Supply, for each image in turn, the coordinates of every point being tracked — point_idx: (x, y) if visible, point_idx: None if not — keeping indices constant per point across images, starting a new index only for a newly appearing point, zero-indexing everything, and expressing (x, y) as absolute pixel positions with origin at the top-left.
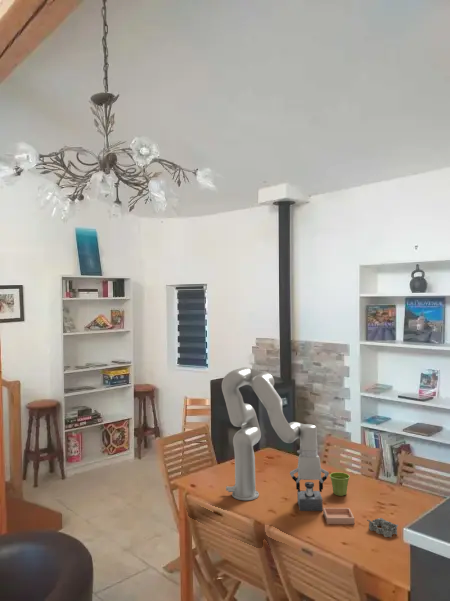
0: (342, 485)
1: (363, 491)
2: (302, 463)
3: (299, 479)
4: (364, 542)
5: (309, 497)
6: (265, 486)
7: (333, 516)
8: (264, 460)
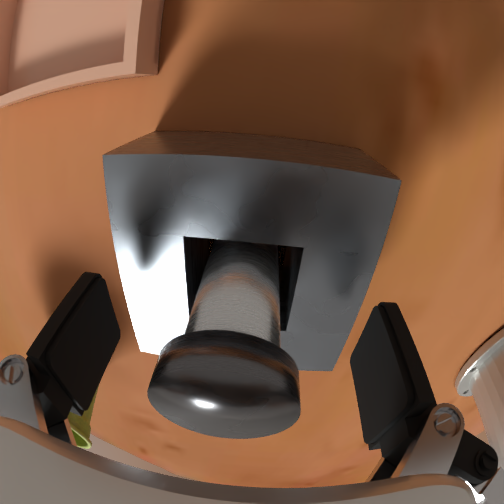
0: None
1: (17, 344)
2: None
3: (423, 465)
4: None
5: (256, 223)
6: None
7: (94, 11)
8: (307, 487)
